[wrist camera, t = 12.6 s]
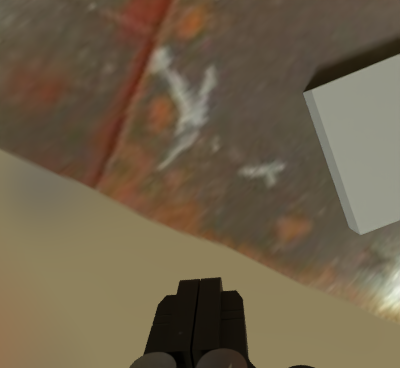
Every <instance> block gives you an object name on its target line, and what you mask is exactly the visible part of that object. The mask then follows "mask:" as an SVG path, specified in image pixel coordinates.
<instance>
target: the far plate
mask: <svg viewBox="0 0 400 368" xmlns="http://www.w3.org/2000/svg"><path fill="white" fill-rule="evenodd" d="M303 94H304V97H305V100H306V103H307V106H308V109H309V111H310V114H311V117H312V120H313V123H314V126H315V129H316V132H317V135H318V138H319V141H320V144H321V146H322V149H323V152H324V155H325V158H326V161H327V164H328V167H329V170H330V173H331V176H332V178H333V181H334V184H335V187H336V190H337V193H338V196H339V199H340V202H341V205H342V208H343V210H344V213H345V216H346V219H347V222H348V225H349V228H350V229H352V230H353V231H355V232H357V233H358V234H360V235H362V234H365V233H367V232H370V231H372V230H375V229H378V228H380V227H383V226H385V225H388V224H391V223H393V222H396V221H398V220H400V53H399V54H397V55H394V56H392V57H389V58H387V59H384V60H382V61H379V62H377V63H374V64H372V65H370V66H367V67H365V68H362V69H360V70H357V71H355V72H352V73H350V74H347V75H345V76H343V77H340V78H338V79H335V80H333V81H330V82H328V83H325V84H323V85H320V86H318V87H315V88H313V89H311V90H308V91H306V92H303Z"/></svg>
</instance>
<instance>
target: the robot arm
mask: <svg viewBox="0 0 400 368" xmlns="http://www.w3.org/2000/svg"><path fill="white" fill-rule="evenodd" d="M130 368H256V367H255V366H253V364H252V363H251V362H250V360H249V358H248V346H247V334H246V325H245V315H244V306H243V299H242V297H241V296H240V295H239V293H238V292H237V291H236V290H235V291H223V288H222V281H221V278H220V277H218V278H205V279H201V281H200V279H194V280H180V282H179V286H178V290H177V295H167V296H166V297H165V298H164V299H163V300H162V301H161V302H160V303H159V304H158V307H157V311H156V314H155V317H154V321H153V326H152V327H151V331H150V334H149V338H148V341H147V344H146V348H145V352H144V355H143V356H141V357H140V358H138V359H137V360H136V361H134V363H133V364H132V365H131V366H130ZM289 368H314V367H310V366H306V365H297V366H292V367H289Z"/></svg>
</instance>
